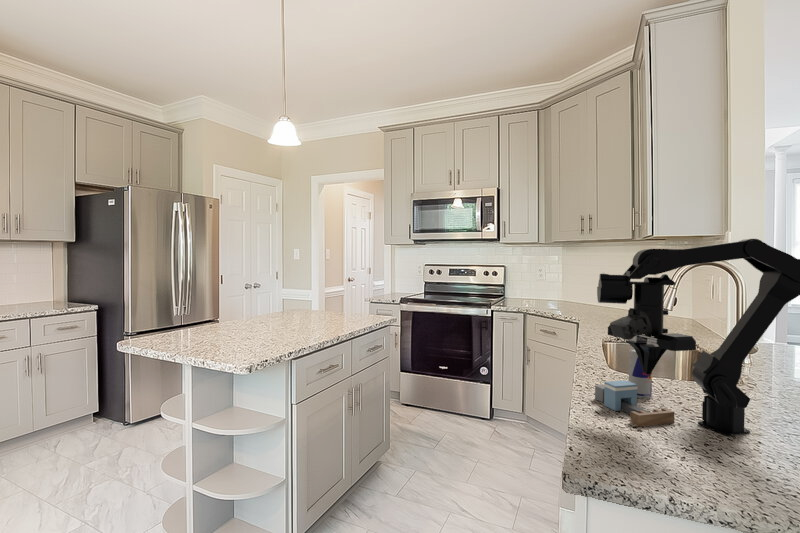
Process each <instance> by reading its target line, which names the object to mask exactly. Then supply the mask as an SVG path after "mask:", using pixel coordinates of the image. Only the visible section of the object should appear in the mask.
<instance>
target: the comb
mask: <svg viewBox="0 0 800 533" xmlns="http://www.w3.org/2000/svg"><path fill="white" fill-rule="evenodd" d="M652 410H653V411H649V413H647V412H645V411H643V410H640V411H639V413H637V412H635V411H630V414H629V416H630V417H629V420H630V422H629V423H631V424H633V425H636V426H637V427H648V426H656V425H665V424H674V423H675V411H673V410H671V409H668V408H666V407H663V408H661V409H659V408H653V409H652Z"/></svg>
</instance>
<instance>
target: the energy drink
mask: <svg viewBox="0 0 800 533" xmlns="http://www.w3.org/2000/svg"><path fill="white" fill-rule="evenodd" d="M628 381H629V382H632V383H634V384H637V399H647V400H649V399H651V397H652V394H653V393H652V392H653V390H652V388H653V371H652V372H651V374H644V372H643V370H642V367H641V364H640V361H639V358H638V355H637V353H636V351H635V349H634V348H630V349H629V351H628Z"/></svg>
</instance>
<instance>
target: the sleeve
mask: <svg viewBox="0 0 800 533" xmlns="http://www.w3.org/2000/svg"><path fill="white" fill-rule="evenodd" d="M603 385H604V402H603V404H604V405H603V406H604V407H606V408H609V409H610V410H612V411H615V412H617V411H618V412H619V411H622V410H621V400H624V401H626V402H628V403H630V404H633V405H635V406H637V407H638V398H637V384H634V383H632V382H629V380H625V379H624V380H623V379H622V380H612V381H604V382H603Z"/></svg>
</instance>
